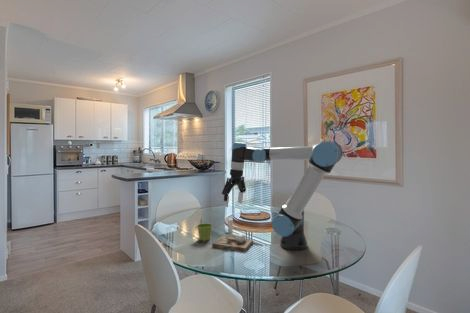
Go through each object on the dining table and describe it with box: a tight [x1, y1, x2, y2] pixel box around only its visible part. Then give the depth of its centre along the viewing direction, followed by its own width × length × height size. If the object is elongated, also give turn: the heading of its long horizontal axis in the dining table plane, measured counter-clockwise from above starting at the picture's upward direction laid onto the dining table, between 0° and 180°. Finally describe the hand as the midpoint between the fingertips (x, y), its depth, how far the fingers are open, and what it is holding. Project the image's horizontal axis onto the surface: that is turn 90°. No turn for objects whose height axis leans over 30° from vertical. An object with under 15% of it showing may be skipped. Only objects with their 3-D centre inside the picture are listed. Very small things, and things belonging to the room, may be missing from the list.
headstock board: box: [211, 235, 254, 252], centre depth 155 cm, size 20×16×2 cm
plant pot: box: [196, 223, 213, 242], centre depth 166 cm, size 9×9×9 cm
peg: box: [225, 218, 246, 243], centre depth 160 cm, size 15×6×11 cm, turn 49°
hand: (233, 204), depth 158 cm, fingers open, 13 cm apart
